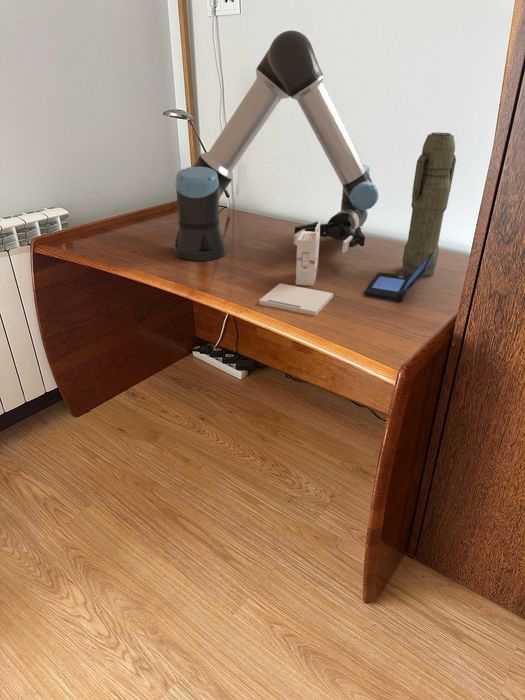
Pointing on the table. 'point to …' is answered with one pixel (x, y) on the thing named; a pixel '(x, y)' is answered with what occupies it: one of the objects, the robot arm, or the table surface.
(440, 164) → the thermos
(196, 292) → the table surface
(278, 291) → the notepad
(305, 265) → the ink cartridge box
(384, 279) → the handheld game console
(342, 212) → the robot arm
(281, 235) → the table surface
